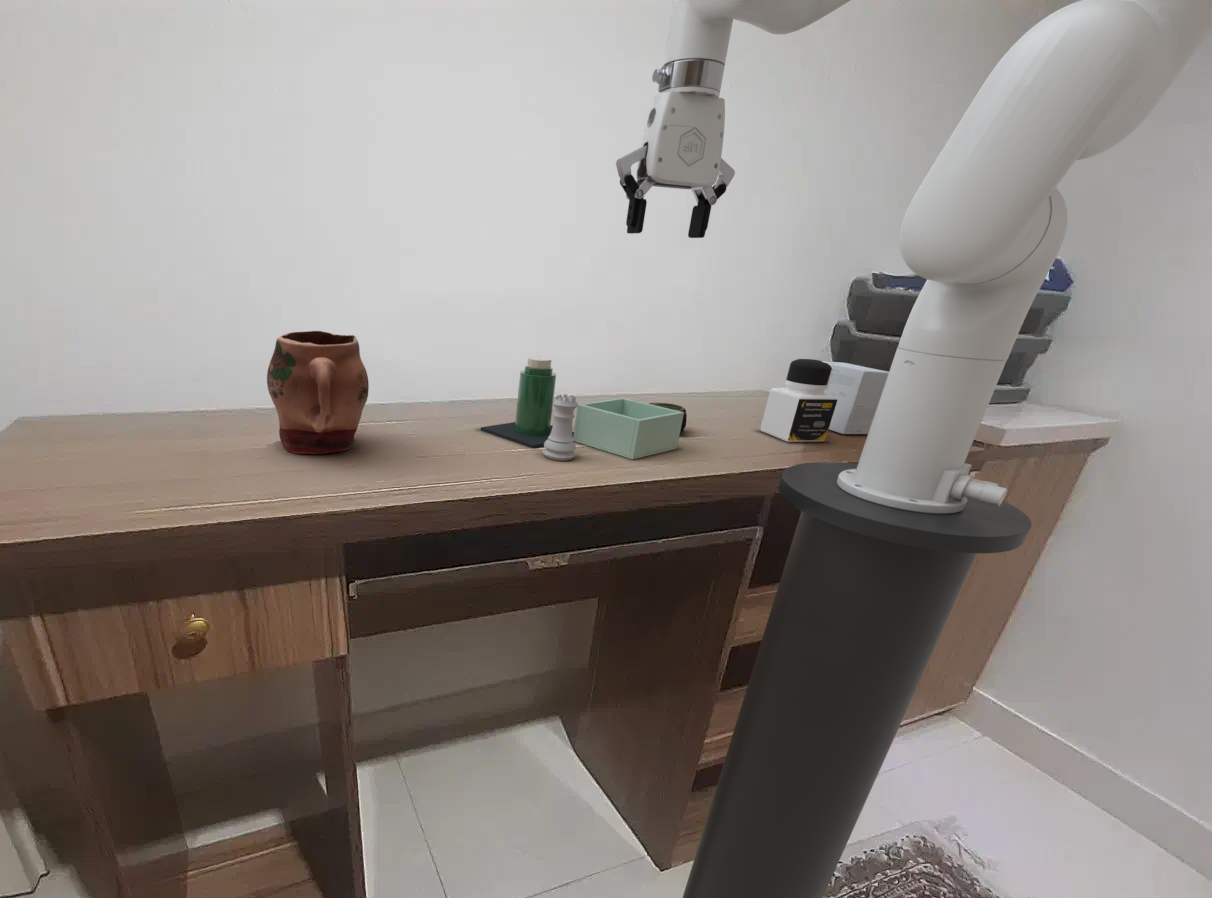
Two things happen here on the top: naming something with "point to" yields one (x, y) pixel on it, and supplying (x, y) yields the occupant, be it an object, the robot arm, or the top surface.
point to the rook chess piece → (562, 430)
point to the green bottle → (535, 397)
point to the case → (627, 427)
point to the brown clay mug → (317, 390)
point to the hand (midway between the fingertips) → (665, 235)
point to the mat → (517, 434)
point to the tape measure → (674, 407)
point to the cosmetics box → (855, 396)
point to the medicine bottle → (801, 404)
